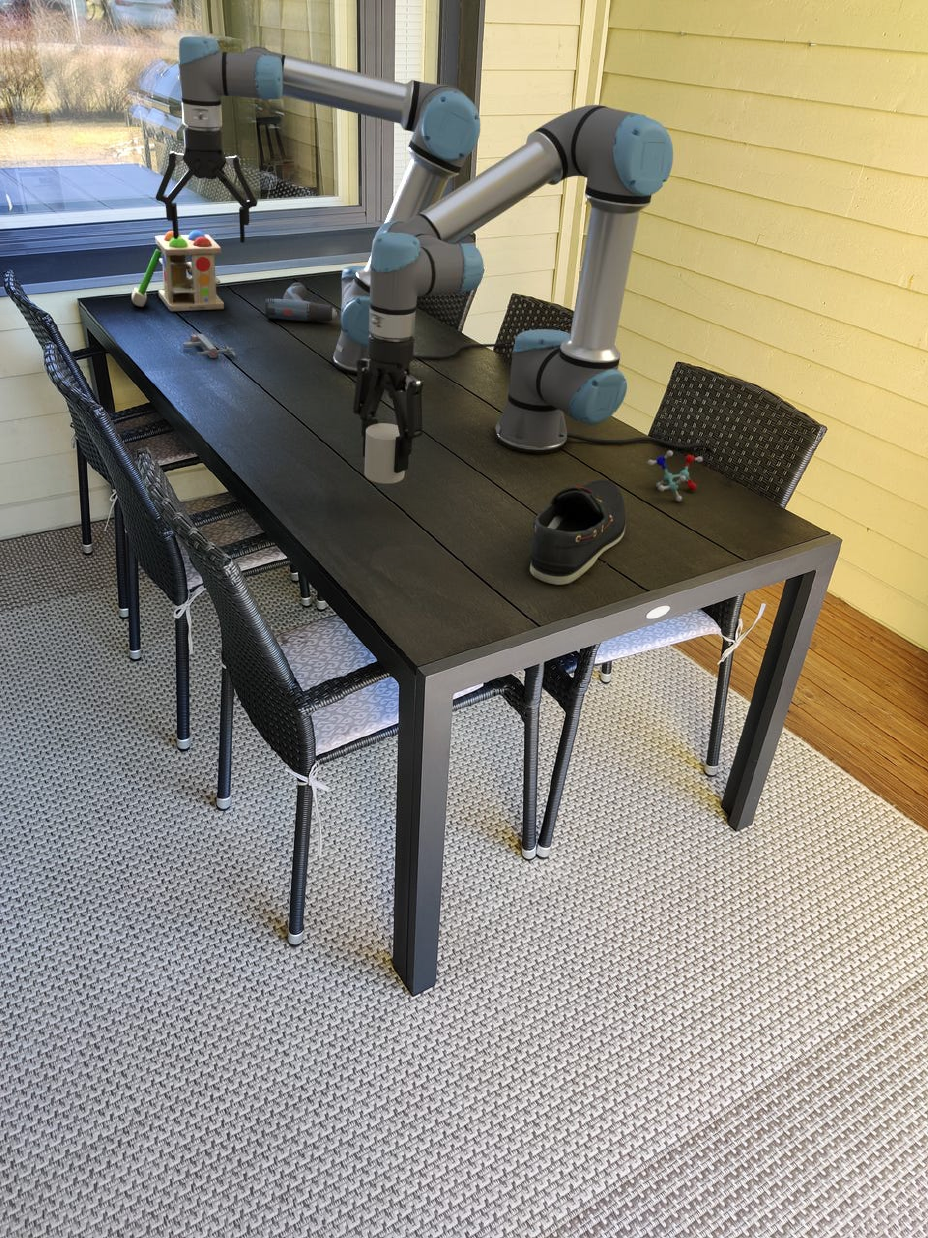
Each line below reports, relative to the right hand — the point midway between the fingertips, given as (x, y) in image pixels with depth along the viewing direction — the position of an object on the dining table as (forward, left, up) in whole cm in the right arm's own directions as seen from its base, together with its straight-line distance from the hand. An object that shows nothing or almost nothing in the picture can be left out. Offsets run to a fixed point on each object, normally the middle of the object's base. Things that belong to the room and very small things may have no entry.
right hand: (385, 462), depth 173 cm
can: (0, 0, -2) cm, 2 cm away
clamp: (+24, -83, -9) cm, 87 cm away
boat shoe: (-31, +17, -9) cm, 37 cm away
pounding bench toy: (+29, -122, -9) cm, 125 cm away
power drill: (-5, -113, -9) cm, 113 cm away
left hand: (+23, -66, +21) cm, 73 cm away
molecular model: (-58, +1, -9) cm, 59 cm away
